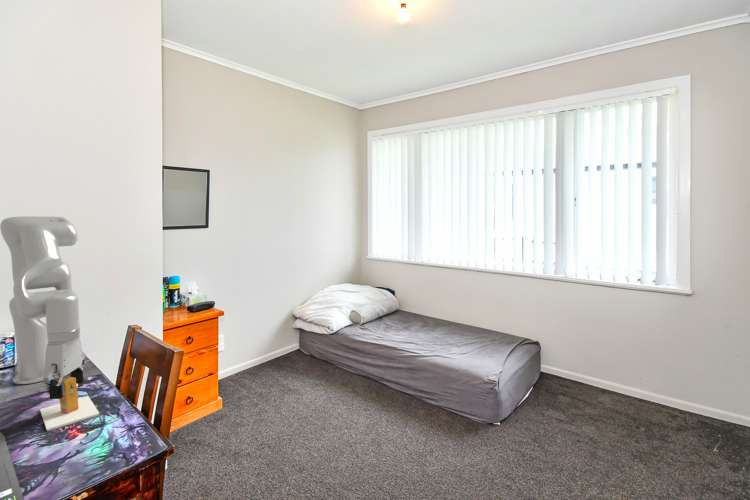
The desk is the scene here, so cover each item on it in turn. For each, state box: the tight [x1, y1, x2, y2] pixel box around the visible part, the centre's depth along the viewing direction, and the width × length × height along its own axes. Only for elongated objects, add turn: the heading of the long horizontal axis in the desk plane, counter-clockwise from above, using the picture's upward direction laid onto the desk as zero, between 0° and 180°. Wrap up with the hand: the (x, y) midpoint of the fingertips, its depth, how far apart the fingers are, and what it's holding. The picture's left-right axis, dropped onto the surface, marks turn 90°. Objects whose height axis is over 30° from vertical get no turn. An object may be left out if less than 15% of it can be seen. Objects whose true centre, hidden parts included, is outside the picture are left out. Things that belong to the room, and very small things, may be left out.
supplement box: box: [59, 377, 79, 414], centre depth 115 cm, size 3×3×10 cm
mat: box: [39, 395, 100, 432], centre depth 115 cm, size 16×12×1 cm
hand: (67, 390), depth 115 cm, fingers open, 9 cm apart
